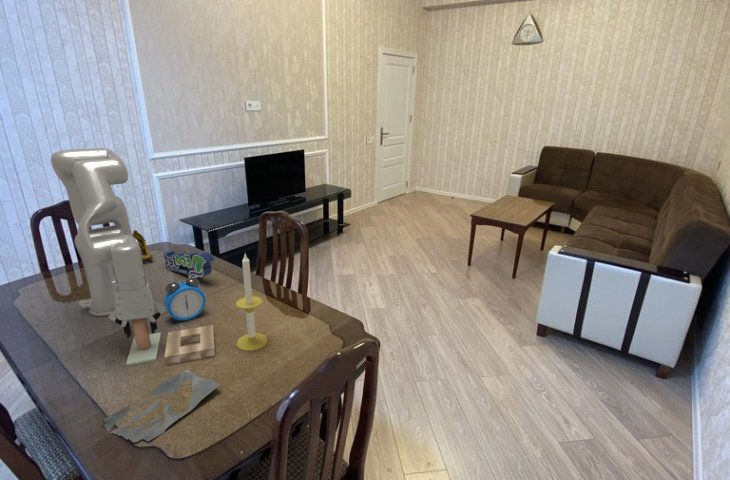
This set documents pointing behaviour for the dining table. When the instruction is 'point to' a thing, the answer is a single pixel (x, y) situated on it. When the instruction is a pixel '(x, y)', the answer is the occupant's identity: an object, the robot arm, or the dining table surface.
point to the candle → (249, 313)
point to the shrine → (142, 245)
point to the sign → (189, 263)
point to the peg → (141, 334)
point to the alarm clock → (184, 299)
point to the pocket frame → (191, 352)
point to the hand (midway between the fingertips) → (141, 332)
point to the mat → (145, 355)
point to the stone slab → (200, 391)
